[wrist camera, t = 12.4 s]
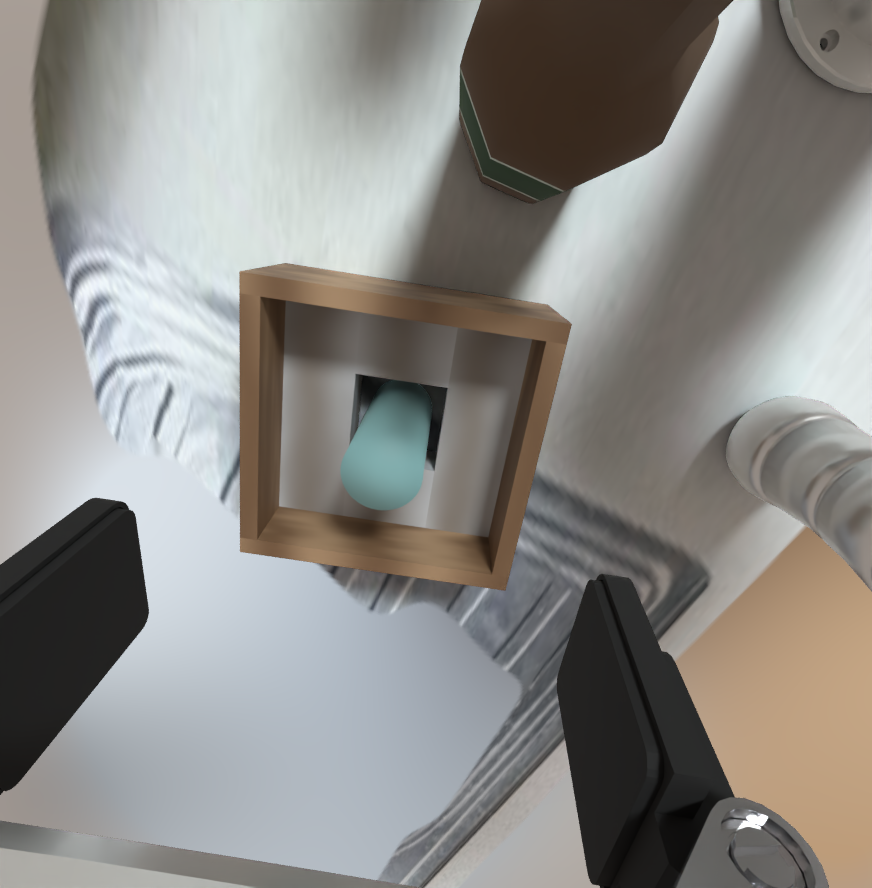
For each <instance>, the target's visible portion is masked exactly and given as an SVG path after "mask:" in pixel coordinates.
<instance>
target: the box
mask: <svg viewBox="0 0 872 888" xmlns="http://www.w3.org/2000/svg"><path fill="white" fill-rule="evenodd" d="M571 325H572V324H571V323H570V322H569V321H567V320H566V319H565V318H564V317H562V316H561V315H560V314H559V313H557V312H556V311H555V310H554V309H552V308H551V307H550V306H549V305H546V304H539V303H533V302H527V301H521V300H514V299H508V298H502V297H495V296H489V295H483V294H476V293H470V292H464V291H458V290H451V289H445V288H439V287H432V286H426V285H420V284H413V283H407V282H401V281H394V280H388V279H382V278H376V277H369V276H363V275H357V274H350V273H344V272H338V271H331V270H325V269H319V268H313V267H306V266H300V265H294V264H287V263H284V264H279V265H273V266H268V267H262V268H256V269H251V270H245V271H240V552H245V553H252V554H259V555H265V556H272V557H279V558H286V559H293V560H300V561H307V562H313V563H320V564H327V565H334V566H341V567H347V568H354V569H361V570H368V571H375V572H382V573H389V574H395V575H402V576H409V577H416V578H423V579H430V580H436V581H443V582H450V583H457V584H464V585H471V586H478V587H484V588H491V589H498V590H506V586H507V582H508V578H509V574H510V570H511V566H512V562H513V558H514V554H515V550H516V546H517V542H518V538H519V534H520V530H521V526H522V522H523V518H524V514H525V510H526V506H527V502H528V498H529V493H530V489H531V485H532V481H533V477H534V473H535V469H536V465H537V461H538V457H539V453H540V449H541V445H542V441H543V437H544V433H545V429H546V425H547V421H548V417H549V413H550V409H551V405H552V401H553V397H554V393H555V389H556V385H557V381H558V377H559V373H560V369H561V365H562V361H563V357H564V353H565V349H566V345H567V341H568V337H569V333H570V329H571ZM363 375H367V376H373V377H380V378H386V379H393V380H399V381H406V382H412V383H419V384H425V385H432V386H438V387H445V388H447V389H446V395H445V401H444V408H443V414H442V420H441V426H440V432H439V438H438V444H437V451H436V452H432V451H427V452H426V459H425V466H424V473H423V481H422V485H421V488H420V490H419V492H418V493H417V495H416V496H415V497H414V498H413V499H412V500H411V501H410V502H409V503H407V504H406V505H404V506H402V507H400V508H397V509H393V510H375V509H371V508H368V507H366V506H363V505H362V504H360V503H358V502H357V501H356V500H354V499H353V498H352V497H351V496H350V495H349V493H348V492H347V491H346V489H345V487H344V485H343V483H342V479H341V473H340V469H341V463H342V459H343V457H344V455H345V453H346V451H347V449H348V447H349V445H350V443H351V441H352V439H353V437H354V435H355V433H356V431H357V429H358V422H359V412H360V401H361V391H362V380H363Z"/></svg>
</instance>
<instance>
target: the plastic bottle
mask: <svg viewBox="0 0 872 888" xmlns="http://www.w3.org/2000/svg"><path fill="white" fill-rule="evenodd" d="M726 459H727V464H728V466H729V468H730V470H731V472H732V473H733V475H734V476H735V478H736V479H737V481H738V482H739V483H740V485H741V486H742V487H743V488H744V489H745V490H747V491H748V492H749V493H751V494H753V495H754V496H756V497H758V498H759V499H761V500H763V501H765V502H767V503H769V504H772V505H774V506H776V507H778V508H780V509H782V510H783V511H785V512H786V513H788V514H789V515H791V516H792V517H794V518H795V519H797V520H798V521H800V522H801V523H803V524H804V525H806V526H807V527H809V528H810V529H812V530H813V531H814V532H815V533H816V534H817V535H818V536H819V537H820V538H822V539H823V540H824V541H825V542H826V543H827V544H828V545H829V546H830V547H831V548H832V549H833V550H834V551H835V552H836V553H837V554H838V555H840V556H841V557H842V558H843V559H844V560H845V561H846V562H847V564H848V565H849V566H850V567H851V568H852V569H853V570H854V572H855V573H856V574H857V575H858V576H859V577H860V578H861V580H862V581H863V582H864V583H865V584H866V585H867V587H868V588H869V589H870V590H871V591H872V436H871V435H869V434H867V433H866V432H864V431H863V430H861V429H859V428H858V427H857V426H856V425H855V424H854V423H853V422H852V421H850V420H849V419H848V418H847V417H846V416H845V415H843V414H842V413H840V412H839V411H837V410H836V409H835V408H833V407H832V406H830V405H828V404H826V403H824V402H821V401H817V400H812V399H807V398H802V397H797V396H785V397H779V398H774V399H771V400H768V401H766V402H764V403H762V404H760V405H758V406H756V407H754V408H752V409H751V410H750V411H748V412H747V413H746V414H745V415H743V416H742V417H741V418H740V419H739V421H738V422H737V423H736V425H735V426H734V428H733V430H732V432H731V434H730V436H729V439H728V443H727V446H726Z"/></svg>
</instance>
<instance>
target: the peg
mask: <svg viewBox="0 0 872 888" xmlns="http://www.w3.org/2000/svg"><path fill="white" fill-rule="evenodd" d="M431 416H432V402H431V399H430V397H429V395H428V393H427V392H426V390H425V389H424V388H423V387H422V386H421V385H419V384H418V383H412V382H406V381H399V380H391V381H389V382H387V383H385V384H384V385H382V386H381V387H380V388H379V389H378V391H377V392H376V394H375V396H374V398H373V400H372V402H371V404H370V406H369V408H368V409H367V411H366V413H365V415H364V417H363V419H362V421H361V423H360V425H359V427H358V429H357V431H356V433H355V435H354V437H353V439H352V441H351V443H350V445H349V447H348V449H347V451H346V453H345V455H344V457H343V459H342V463H341V469H340V473H341V479H342V483H343V485H344V487H345V489H346V491H347V492H348V493H349V495H350V496H351V497H352V498H353V499H354V500H356V501H357V502H358V503H360V504H362V505H363V506H366V507H368V508H371V509H375V510H393V509H397V508H400V507H402V506H404V505H406V504H407V503H409V502H410V501H411V500H412V499H413V498H414V497H415V496H416V495H417V493H418V492H419V490H420V488H421V485H422V481H423V473H424V466H425V459H426V452H427V445H428V438H429V430H430V423H431Z"/></svg>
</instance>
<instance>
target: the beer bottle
mask: <svg viewBox="0 0 872 888" xmlns="http://www.w3.org/2000/svg"><path fill="white" fill-rule="evenodd" d="M732 1H733V0H481V3H480V6H479V9H478V12H477V14H476V17H475V20H474V23H473V26H472V29H471V32H470V35H469V38H468V41H467V43H466V46H465V49H464V53H463V57H462V61H461V64H460V105H459V120H460V124H461V127H462V130H463V133H464V135H465V138H466V141H467V144H468V147H469V150H470V153H471V155H472V158H473V161H474V164H475V167H476V170H477V172H478V175H479V178H480V181H481V182H482V183H484V184H487V185H489V186H491V187H493V188H495V189H498V190H500V191H502V192H504V193H507V194H509V195H511V196H513V197H515V198H518V199H520V200H522V201H524V202H526V203H530V204H533V203H536V202H539V201H541V200H544V199H546V198H549V197H552V196H554V195H557V194H560V193H562V192H565V191H567V190H569V189H571V188H574V187H576V186H578V185H580V184H582V183H585V182H587V181H589V180H591V179H593V178H596V177H598V176H600V175H602V174H604V173H606V172H609V171H611V170H613V169H615V168H617V167H620V166H622V165H624V164H626V163H628V162H631V161H633V160H635V159H637V158H639V157H642V156H644V155H646V154H647V153H649V152H650V151H652V150H653V149H655V148H656V147H657V146H659V145H660V144H662V143H663V141H664V139H665V137H666V135H667V133H668V131H669V129H670V127H671V125H672V123H673V121H674V119H675V117H676V115H677V113H678V111H679V109H680V107H681V105H682V103H683V101H684V99H685V97H686V95H687V93H688V91H689V89H690V87H691V85H692V83H693V81H694V79H695V77H696V75H697V73H698V71H699V69H700V67H701V65H702V63H703V61H704V59H705V57H706V55H707V53H708V51H709V49H710V47H711V45H712V43H713V41H714V37H715V34H716V31H717V28H718V24H719V20H718V15H719V14H720V13H721V12H722V11H723V10H724V9H725V8H726V7H727V6H728V5H729V4H730V3H731V2H732Z"/></svg>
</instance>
